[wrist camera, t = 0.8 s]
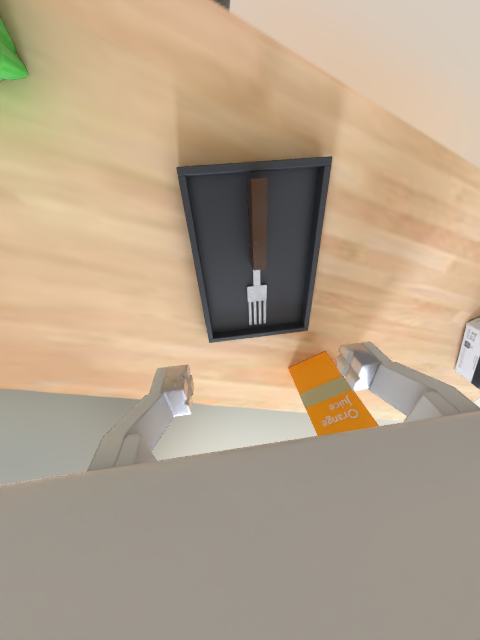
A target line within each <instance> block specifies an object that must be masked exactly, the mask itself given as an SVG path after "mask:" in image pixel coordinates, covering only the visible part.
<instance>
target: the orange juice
mask: <svg viewBox="0 0 480 640" xmlns="http://www.w3.org/2000/svg"><path fill="white" fill-rule="evenodd" d="M288 369H289V371H290V373H291V376H292V378H293V380H294V382H295V385H296V387H297V389H298V392H299V395H300V397H301V399H302V401H303V404H304V406H305V408H306V410H307V412H308V415H309V417H310V419H311V422H312V424H313V426H314V428H315V431H316V433H317V435H318V436H320V435H326V434H333V433H339V432H346V431H352V430H359V429H365V428H371V427H378V426H379V425H378V424H377V423H376V421H375V420H374V418H373V417H372V416H371V414H370V413H369V411H368V410H367V409H366V407H365V406H364V404H363V403H362V402H361V400H360V399H359V398H358V396H357V395H356V393H355V392H354V391H353V390H352V389H351V388H350V386H349V385H348V383H347V382H346V379H345V378H344V376H343V375H342V374H340V372H339V371H338V368H337V367H336V365H335V364H334V363H333V361H332V360H331V359H330V357H329V356H328V354H327V353H326V352H323V353H320V354H318V355H316V356H314V357H312V358H309V359H307V360H305V361H303V362H301V363H298V364H296V365H294V366H292V367H289V368H288Z"/></svg>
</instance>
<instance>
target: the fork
mask: <svg viewBox="0 0 480 640" xmlns="http://www.w3.org/2000/svg"><path fill="white" fill-rule="evenodd" d="M247 198H248V224H249V250H250V264H251V266H252V270H253V285H250V286H247V301H248V313H249V325H252V308H251V302H253V318H254V325H256V324H257V310H256V301H258V323H259V324H262V318H261V301H263V323H266V300H267V284H261V281H260V270H264V269H267V178H256V179H250V180H247Z"/></svg>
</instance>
